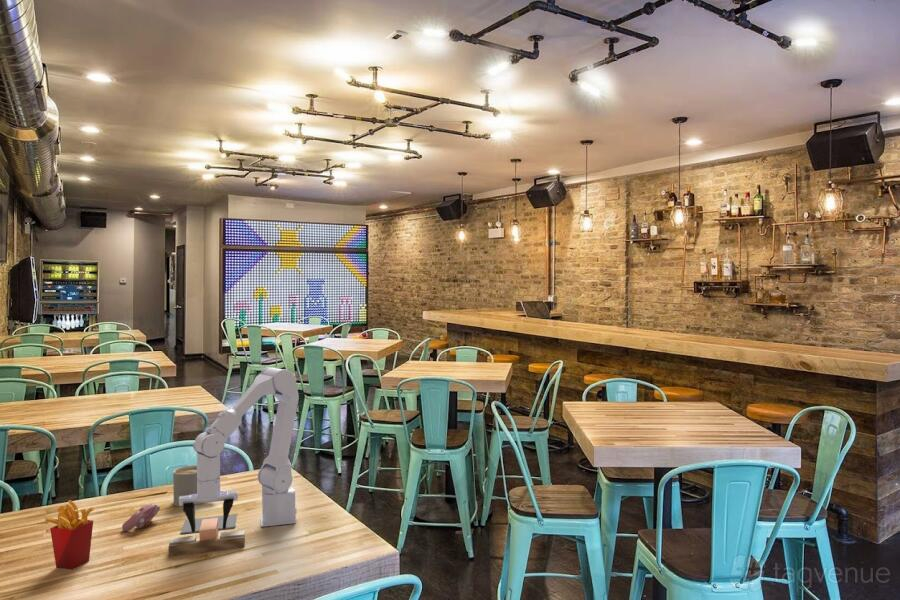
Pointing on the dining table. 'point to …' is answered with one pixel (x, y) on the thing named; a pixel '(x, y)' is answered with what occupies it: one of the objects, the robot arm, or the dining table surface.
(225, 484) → the dining table surface
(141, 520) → the video game controller
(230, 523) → the slate pad
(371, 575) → the dining table surface
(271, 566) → the dining table surface
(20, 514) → the dining table surface
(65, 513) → the french fries
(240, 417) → the robot arm
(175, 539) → the brown u-shaped block
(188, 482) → the coffee mug
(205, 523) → the salmon pillar
